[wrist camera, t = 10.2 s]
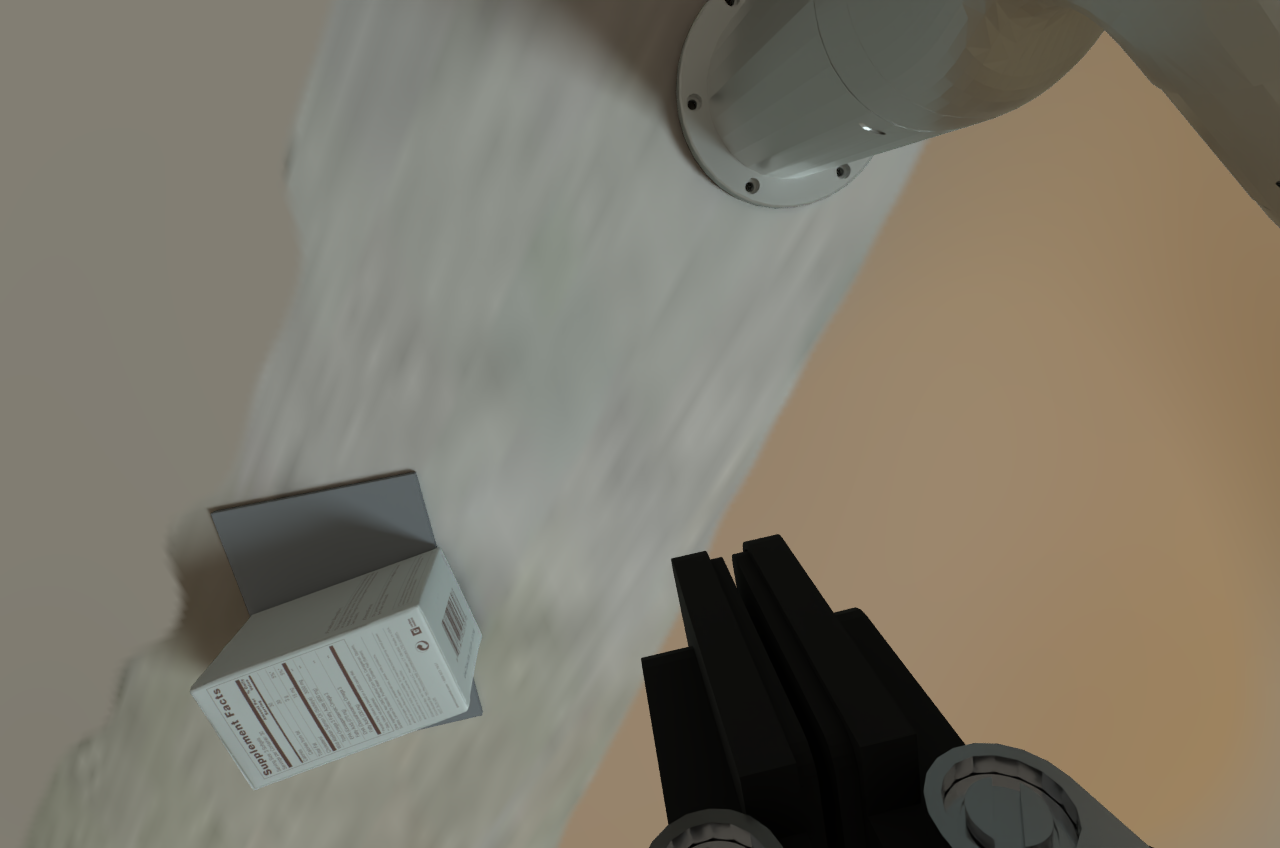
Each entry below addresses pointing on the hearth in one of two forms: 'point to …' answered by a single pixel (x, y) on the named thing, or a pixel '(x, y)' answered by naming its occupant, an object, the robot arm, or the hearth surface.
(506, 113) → the hearth surface
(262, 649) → the supplement box
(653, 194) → the hearth surface
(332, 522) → the mat
